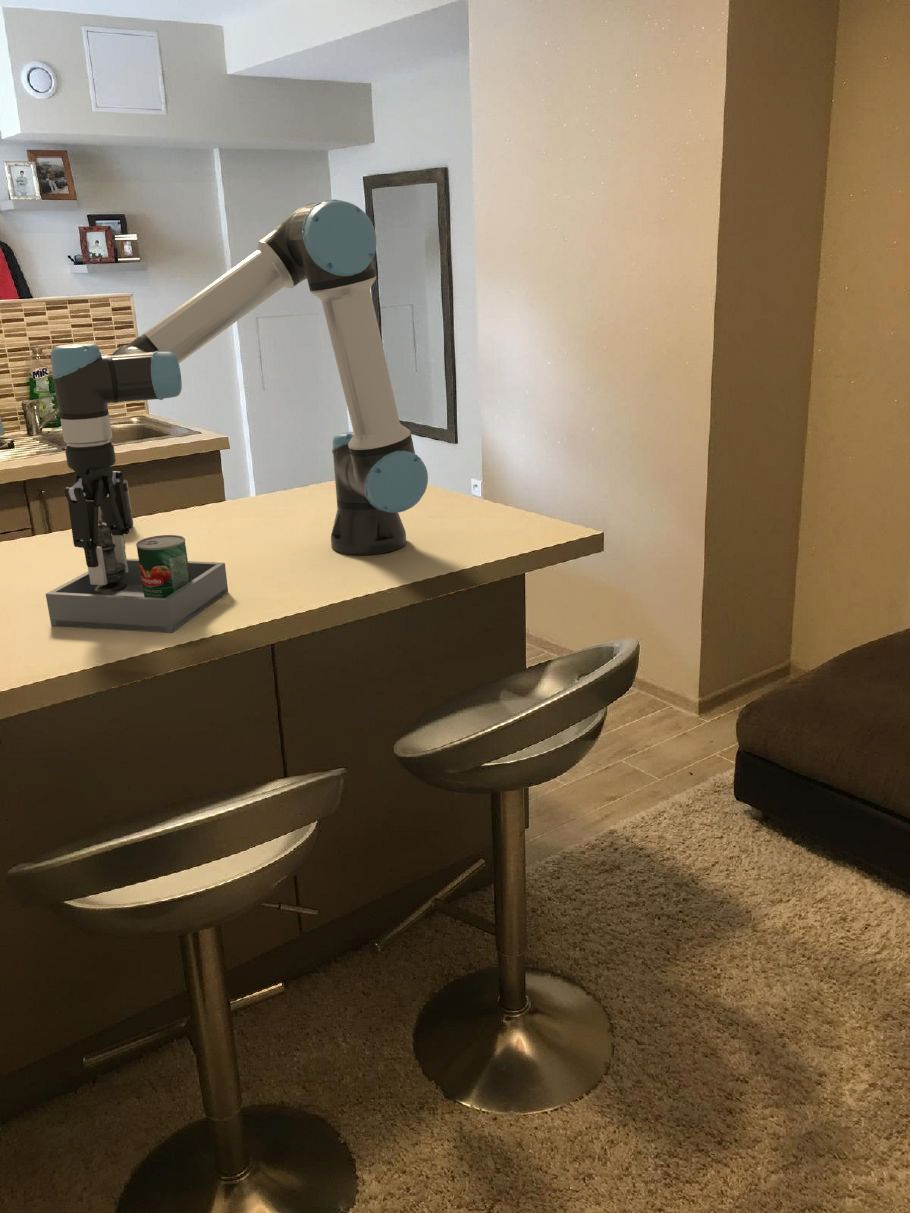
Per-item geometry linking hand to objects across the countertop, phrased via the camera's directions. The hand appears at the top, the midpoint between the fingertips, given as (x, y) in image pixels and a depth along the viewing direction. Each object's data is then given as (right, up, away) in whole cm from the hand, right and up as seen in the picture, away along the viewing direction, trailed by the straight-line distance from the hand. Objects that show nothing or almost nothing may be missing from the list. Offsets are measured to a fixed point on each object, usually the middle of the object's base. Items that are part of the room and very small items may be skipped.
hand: (109, 577), depth 172 cm
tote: (+6, -5, 0) cm, 8 cm away
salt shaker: (0, -2, +1) cm, 2 cm away
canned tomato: (+10, -5, -1) cm, 11 cm away
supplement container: (-16, +12, +51) cm, 55 cm away
